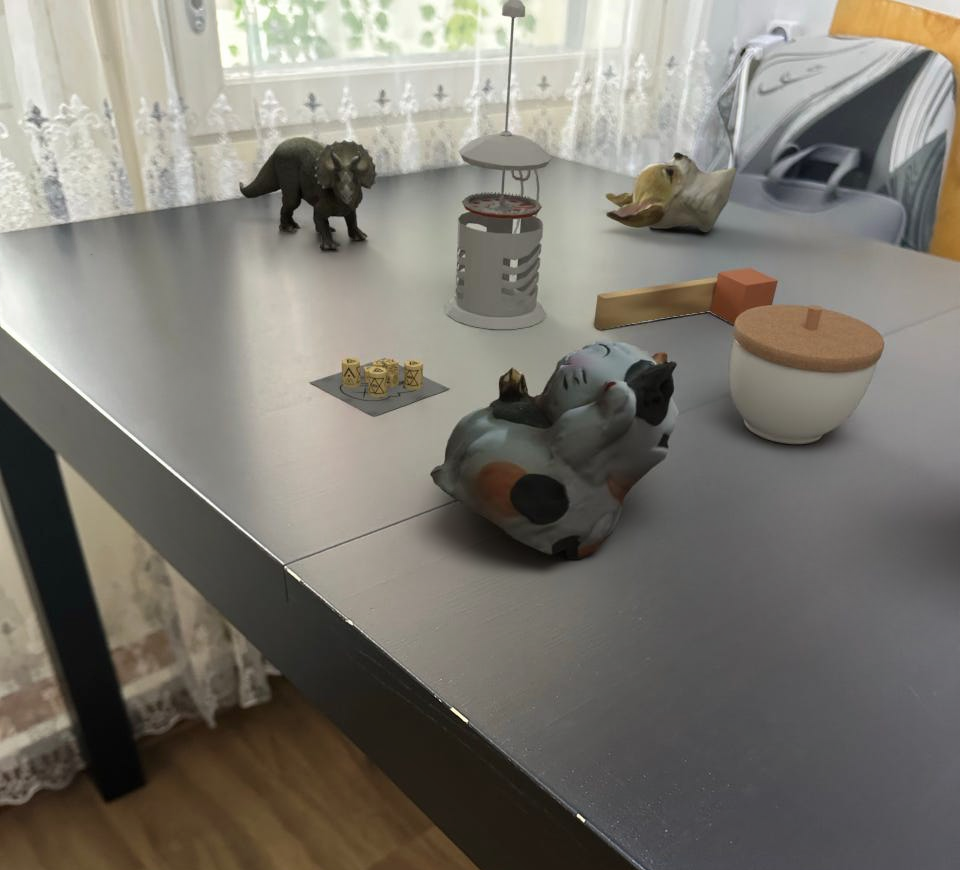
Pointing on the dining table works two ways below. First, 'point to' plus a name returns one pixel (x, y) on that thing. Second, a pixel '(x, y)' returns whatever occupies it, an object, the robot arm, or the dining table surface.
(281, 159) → the toy dinosaur
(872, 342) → the trinket box
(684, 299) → the guide rail
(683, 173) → the ceramic sculpture
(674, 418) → the lucky cat figurine
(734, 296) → the terracotta block
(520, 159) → the french press
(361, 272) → the dining table surface
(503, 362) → the dining table surface
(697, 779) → the dining table surface
